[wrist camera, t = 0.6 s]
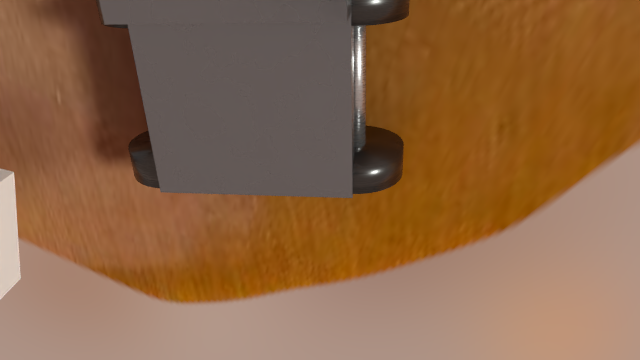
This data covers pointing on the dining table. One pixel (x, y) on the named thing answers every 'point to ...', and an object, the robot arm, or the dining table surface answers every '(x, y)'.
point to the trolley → (257, 96)
